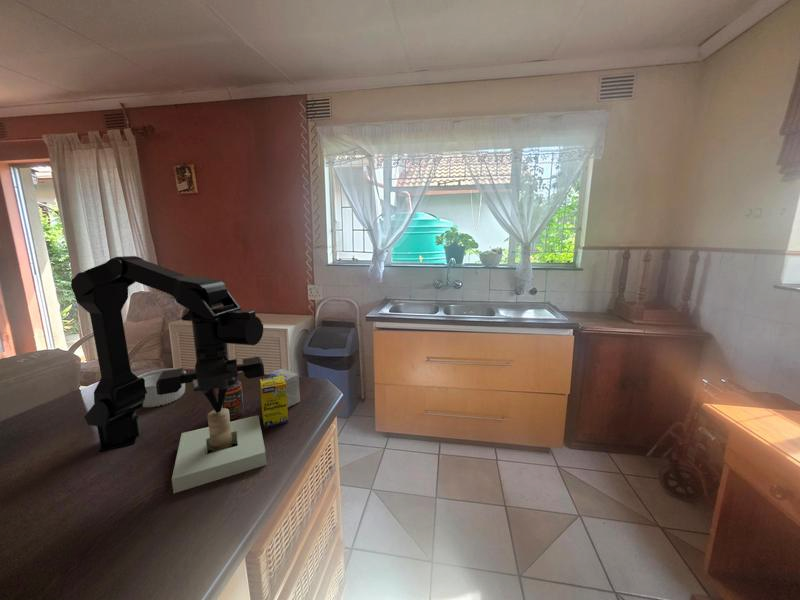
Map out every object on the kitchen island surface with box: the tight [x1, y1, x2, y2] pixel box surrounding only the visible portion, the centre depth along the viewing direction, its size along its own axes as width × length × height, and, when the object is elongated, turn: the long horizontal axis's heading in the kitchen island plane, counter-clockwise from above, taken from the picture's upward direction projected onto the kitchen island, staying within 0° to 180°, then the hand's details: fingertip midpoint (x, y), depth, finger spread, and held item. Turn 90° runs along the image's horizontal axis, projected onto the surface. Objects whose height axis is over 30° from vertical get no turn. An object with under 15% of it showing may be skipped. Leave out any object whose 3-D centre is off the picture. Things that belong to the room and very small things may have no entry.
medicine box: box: [268, 368, 301, 408], centre depth 91 cm, size 8×4×9 cm, turn 58°
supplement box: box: [259, 376, 289, 429], centre depth 81 cm, size 6×6×11 cm
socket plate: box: [171, 414, 267, 494], centre depth 68 cm, size 16×16×3 cm
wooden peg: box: [206, 408, 233, 453], centre depth 68 cm, size 4×4×10 cm
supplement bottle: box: [215, 377, 244, 421], centre depth 83 cm, size 6×6×11 cm
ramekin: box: [136, 368, 187, 408], centre depth 92 cm, size 13×13×7 cm
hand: (218, 411), depth 67 cm, fingers closed
